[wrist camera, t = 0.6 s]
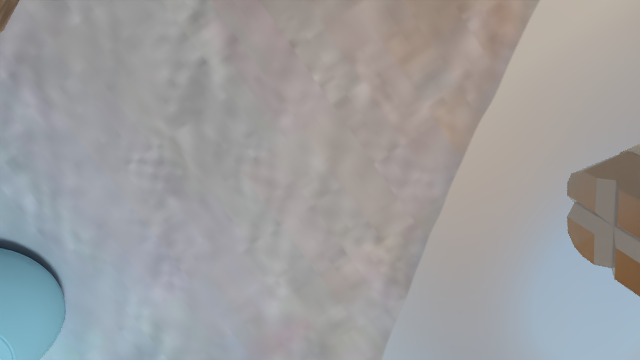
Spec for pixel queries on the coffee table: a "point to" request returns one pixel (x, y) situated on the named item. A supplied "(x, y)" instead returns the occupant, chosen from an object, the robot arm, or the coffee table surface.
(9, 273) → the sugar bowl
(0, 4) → the bearing block
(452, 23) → the coffee table surface
